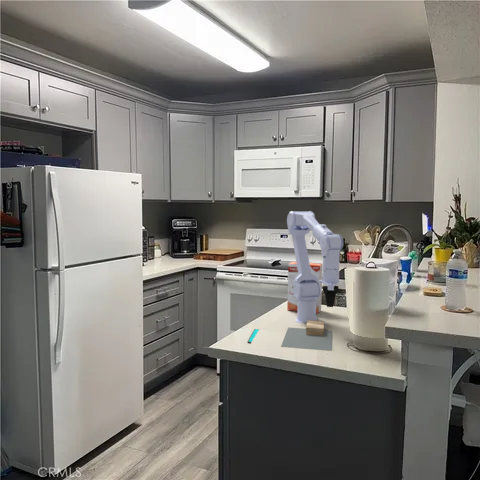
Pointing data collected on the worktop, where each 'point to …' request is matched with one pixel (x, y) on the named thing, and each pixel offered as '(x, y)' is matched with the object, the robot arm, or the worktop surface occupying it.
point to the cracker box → (292, 274)
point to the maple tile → (315, 327)
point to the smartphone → (253, 335)
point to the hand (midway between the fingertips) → (330, 306)
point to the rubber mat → (307, 340)
